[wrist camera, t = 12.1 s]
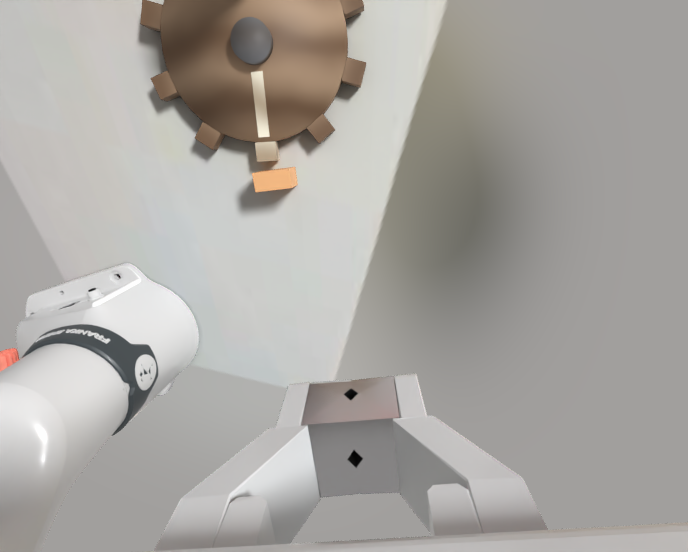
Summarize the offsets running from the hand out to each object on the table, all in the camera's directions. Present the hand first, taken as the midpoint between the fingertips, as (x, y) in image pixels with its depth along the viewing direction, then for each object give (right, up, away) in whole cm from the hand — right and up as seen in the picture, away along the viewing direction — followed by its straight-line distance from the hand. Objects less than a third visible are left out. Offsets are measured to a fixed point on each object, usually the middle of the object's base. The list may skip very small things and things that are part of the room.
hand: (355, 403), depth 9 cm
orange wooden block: (-8, +14, +37) cm, 40 cm away
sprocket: (-9, +27, +33) cm, 44 cm away
